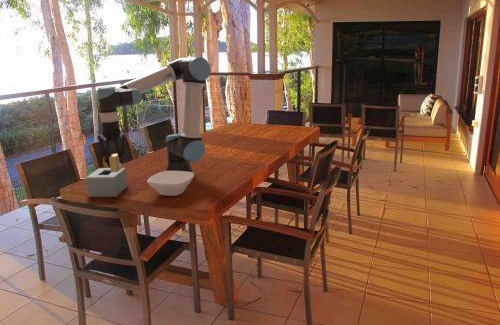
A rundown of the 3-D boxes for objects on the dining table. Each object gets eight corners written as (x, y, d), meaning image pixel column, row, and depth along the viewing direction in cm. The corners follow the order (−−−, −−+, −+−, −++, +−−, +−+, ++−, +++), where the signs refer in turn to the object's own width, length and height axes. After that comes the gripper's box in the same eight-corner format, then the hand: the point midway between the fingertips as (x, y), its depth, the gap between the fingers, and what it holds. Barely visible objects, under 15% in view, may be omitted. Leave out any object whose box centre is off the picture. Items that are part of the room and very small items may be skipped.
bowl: (163, 185, 229) (162, 169, 227) (200, 188, 223) (199, 171, 221) (143, 199, 210) (141, 182, 208) (182, 202, 204) (181, 184, 202)
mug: (117, 183, 236) (114, 161, 232) (101, 179, 243) (98, 158, 240) (131, 178, 243) (129, 157, 240) (115, 175, 251) (113, 154, 248)
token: (121, 168, 212) (119, 153, 210) (117, 172, 206) (115, 156, 204) (115, 168, 212) (113, 153, 210) (111, 172, 206) (109, 156, 204)
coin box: (127, 186, 230) (125, 167, 227) (116, 196, 215) (113, 177, 212) (101, 186, 231) (99, 168, 229) (88, 196, 216) (85, 177, 213)
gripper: (129, 118, 206) (135, 166, 212) (95, 120, 207) (102, 167, 213) (124, 121, 199) (130, 171, 205) (89, 123, 200) (96, 172, 206)
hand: (116, 169), depth 209 cm, fingers closed on token, 3 cm apart
